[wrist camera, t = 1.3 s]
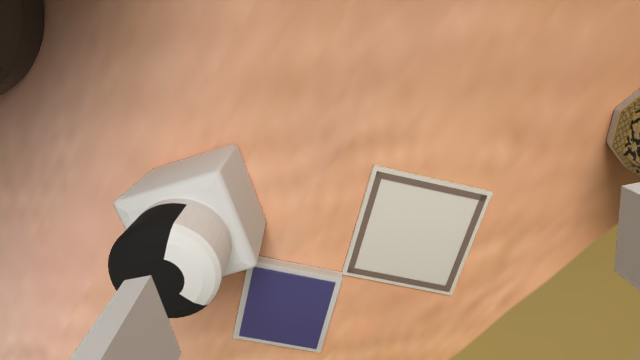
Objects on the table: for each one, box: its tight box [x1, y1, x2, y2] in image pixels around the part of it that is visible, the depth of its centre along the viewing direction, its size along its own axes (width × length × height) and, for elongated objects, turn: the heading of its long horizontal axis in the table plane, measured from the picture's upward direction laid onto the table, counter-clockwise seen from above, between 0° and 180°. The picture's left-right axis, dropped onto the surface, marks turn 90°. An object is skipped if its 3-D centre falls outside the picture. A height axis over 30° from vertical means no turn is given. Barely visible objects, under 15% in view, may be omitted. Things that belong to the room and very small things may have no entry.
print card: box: [342, 164, 493, 295], centre depth 34 cm, size 10×10×1 cm
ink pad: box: [233, 256, 342, 353], centre depth 36 cm, size 8×8×1 cm
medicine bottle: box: [108, 144, 266, 318], centre depth 27 cm, size 7×7×12 cm
